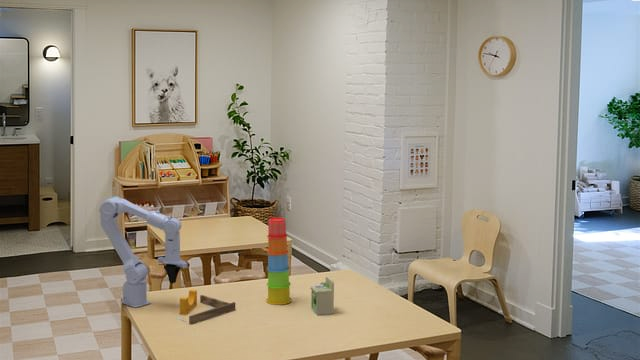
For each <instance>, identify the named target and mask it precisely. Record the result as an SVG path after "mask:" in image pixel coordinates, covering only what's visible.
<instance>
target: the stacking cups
mask: <svg viewBox="0 0 640 360" xmlns="http://www.w3.org/2000/svg"><path fill="white" fill-rule="evenodd" d="M267 224H268V225H267V226H268V227H267V228H268V234H267V239H268V241H267V243H268V248H267V251H266V252H267V253H266V254H267V256H268V257H267V260H268V261H267V263H268V264H267V267H266V270H267V273H268V274H267V282H266V286H267V298H266V303H268V304H270V305H275V306H278V305H279V306H283V305H286V304H290V303H291V302H292V298H291V297H290V291H291V290H290V286H292V285H291V282H290V272H289V270H290V266H289V258H288V257H289V256H288V254H289V250H288V239H287V238H288V234H287V227H286V225H287V224H286V219H285V218H284V217H270V218H269V219H268V223H267Z"/></svg>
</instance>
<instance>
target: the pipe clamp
mask: <svg viewBox="0 0 640 360" xmlns="http://www.w3.org/2000/svg"><path fill="white" fill-rule="evenodd" d="M197 304H198V291H197V289H190V290H188V296H186V297H183V296H181V297H180V298H179V315H181V316H182V315H183V316H187V315H188V314H190V312H191V311H192V310H194V309H195V308H196V307H197V306H198V305H197Z"/></svg>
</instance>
